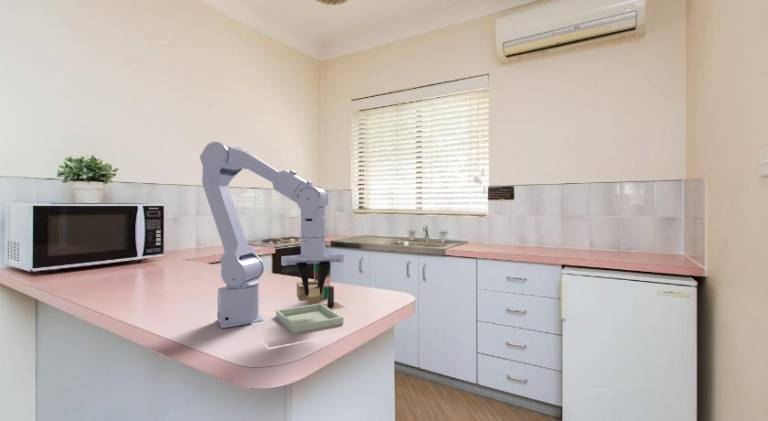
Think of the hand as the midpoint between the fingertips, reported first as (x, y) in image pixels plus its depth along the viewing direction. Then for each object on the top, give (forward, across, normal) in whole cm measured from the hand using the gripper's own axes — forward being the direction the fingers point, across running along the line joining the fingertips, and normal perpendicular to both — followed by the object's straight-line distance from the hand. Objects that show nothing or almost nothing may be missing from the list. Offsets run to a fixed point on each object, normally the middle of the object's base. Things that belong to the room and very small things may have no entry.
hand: (313, 293), depth 86 cm
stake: (+8, -7, -13) cm, 17 cm away
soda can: (+8, -6, -24) cm, 26 cm away
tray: (+8, +1, -3) cm, 8 cm away
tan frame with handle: (+2, 0, -3) cm, 4 cm away
